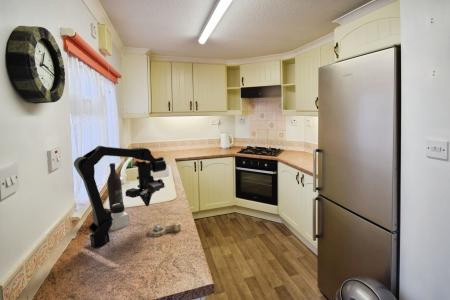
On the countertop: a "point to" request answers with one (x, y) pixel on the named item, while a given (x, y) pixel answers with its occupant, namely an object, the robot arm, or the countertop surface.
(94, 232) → the robot arm
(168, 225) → the ring with handle
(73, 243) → the countertop surface
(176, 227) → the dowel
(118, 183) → the wine bottle
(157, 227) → the grey shiny ball
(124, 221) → the printed carton box
